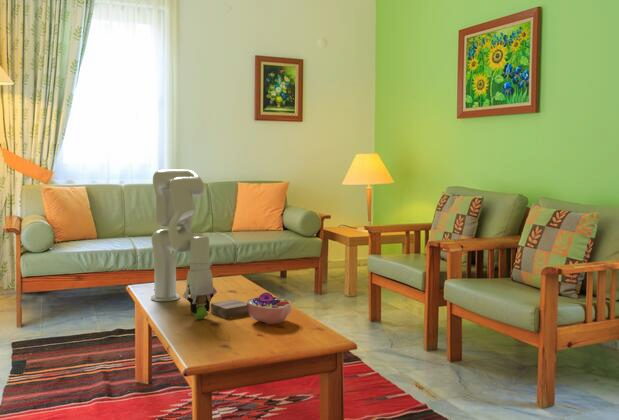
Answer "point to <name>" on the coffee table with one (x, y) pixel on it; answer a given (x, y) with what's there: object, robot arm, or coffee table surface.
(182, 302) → the coffee table surface
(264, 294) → the cell model
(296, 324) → the coffee table surface
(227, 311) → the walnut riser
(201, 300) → the snail figurine
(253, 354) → the coffee table surface
